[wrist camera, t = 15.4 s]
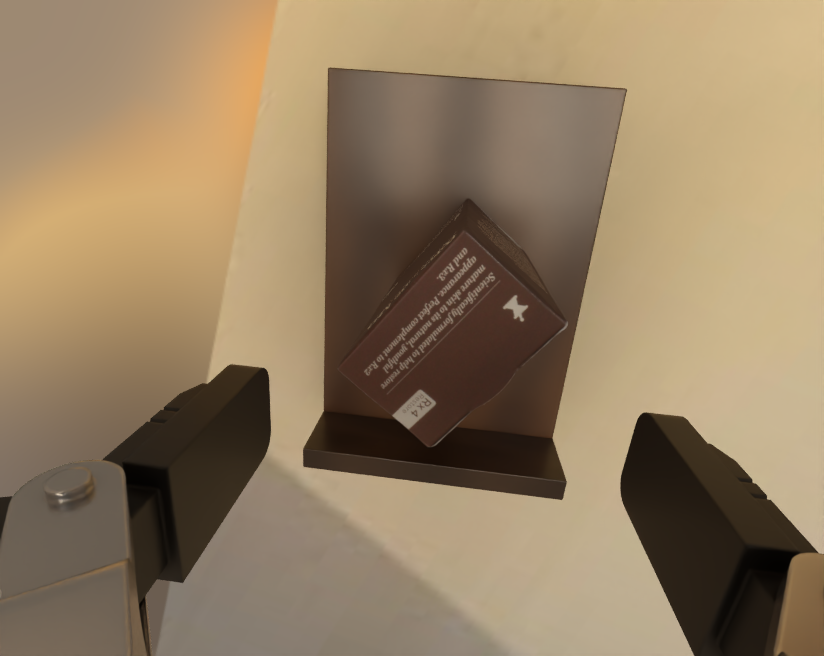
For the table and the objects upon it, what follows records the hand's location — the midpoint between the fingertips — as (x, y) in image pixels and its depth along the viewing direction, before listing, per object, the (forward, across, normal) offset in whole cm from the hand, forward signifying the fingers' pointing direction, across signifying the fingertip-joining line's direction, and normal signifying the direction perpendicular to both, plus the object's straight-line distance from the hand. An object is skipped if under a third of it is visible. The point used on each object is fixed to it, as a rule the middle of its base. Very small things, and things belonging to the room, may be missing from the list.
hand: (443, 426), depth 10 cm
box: (+16, 0, 0) cm, 16 cm away
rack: (+21, 0, +1) cm, 21 cm away
